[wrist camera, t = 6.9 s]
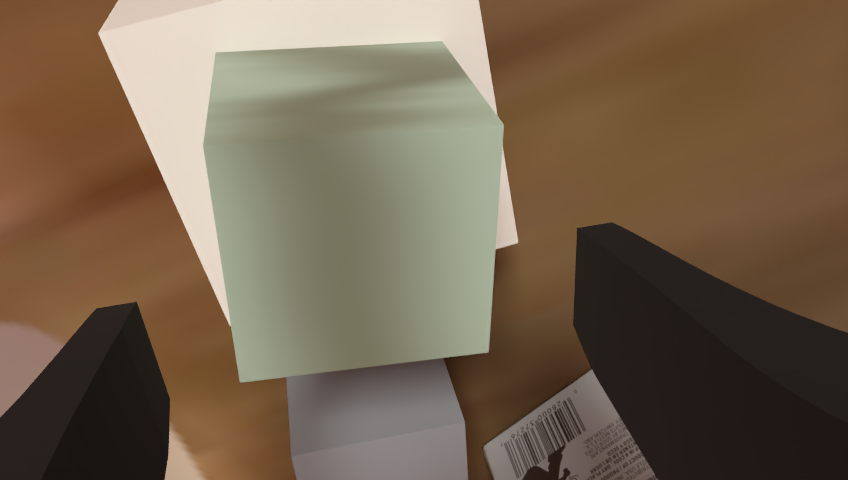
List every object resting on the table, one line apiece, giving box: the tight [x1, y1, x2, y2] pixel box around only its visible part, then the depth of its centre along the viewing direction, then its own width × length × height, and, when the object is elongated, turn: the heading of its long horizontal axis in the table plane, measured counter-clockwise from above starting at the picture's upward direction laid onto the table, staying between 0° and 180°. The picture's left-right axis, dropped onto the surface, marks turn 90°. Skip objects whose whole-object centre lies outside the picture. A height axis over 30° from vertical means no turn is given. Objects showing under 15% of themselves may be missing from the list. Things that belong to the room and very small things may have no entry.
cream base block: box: [98, 0, 518, 325], centre depth 20 cm, size 8×8×4 cm
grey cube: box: [286, 358, 468, 480], centre depth 25 cm, size 5×5×5 cm
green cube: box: [203, 41, 504, 383], centre depth 16 cm, size 5×5×5 cm
